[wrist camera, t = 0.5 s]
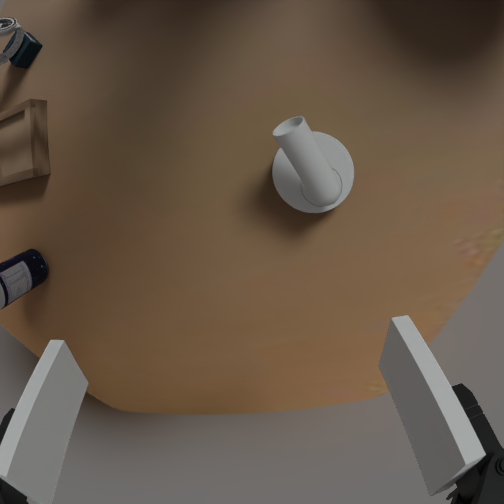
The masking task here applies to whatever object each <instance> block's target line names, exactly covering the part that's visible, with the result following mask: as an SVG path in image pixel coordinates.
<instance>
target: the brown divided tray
mask: <svg viewBox="0 0 504 504" xmlns="http://www.w3.org/2000/svg"><path fill="white" fill-rule="evenodd" d="M48 174H50V166H49V154H48V136H47V101H45V100H36V99H29V100H27V101H25V102H22V103H20V104H18V105H16V106H14V107H12V108H10V109H8V110H6V111H4V112H2V113H0V187H1V186H4V185H8V184H12V183H15V182H19V181H23V180H27V179H31V178H35V177H39V176H44V175H48Z"/></svg>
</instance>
